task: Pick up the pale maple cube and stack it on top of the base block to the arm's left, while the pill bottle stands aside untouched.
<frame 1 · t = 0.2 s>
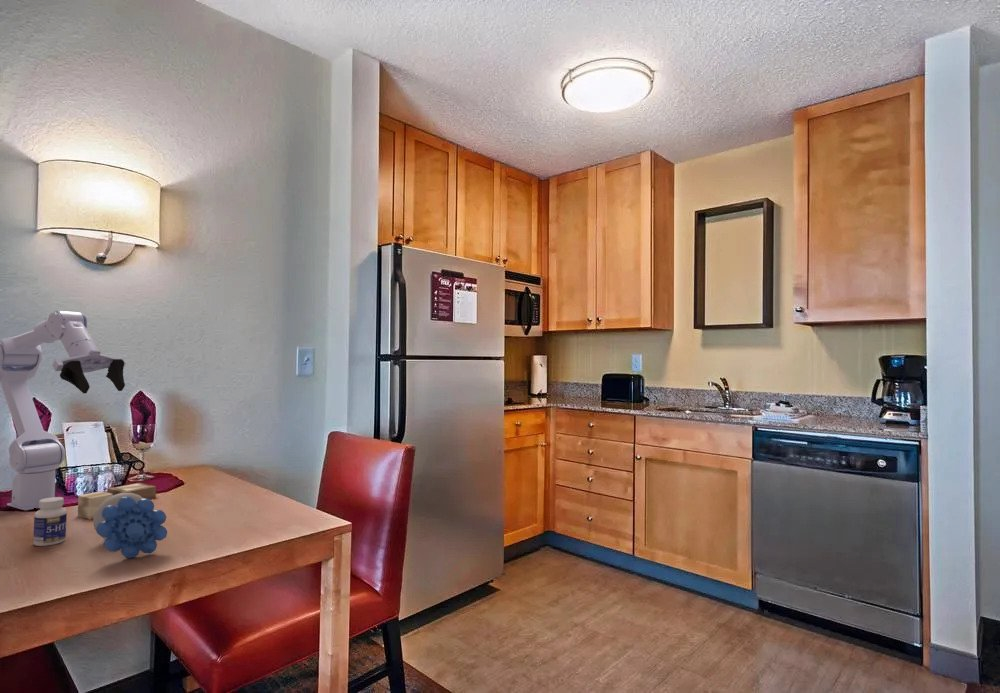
hand: (104, 389, 130), 31 cm above the table, tool tilted 45°, fingers open, 7 cm apart
donut: (121, 541, 117), on the table
cube: (94, 515, 135), on the table
pill bottle: (49, 543, 115), on the table
blue flower rosette: (132, 560, 107), on the table
base: (131, 498, 150), on the table
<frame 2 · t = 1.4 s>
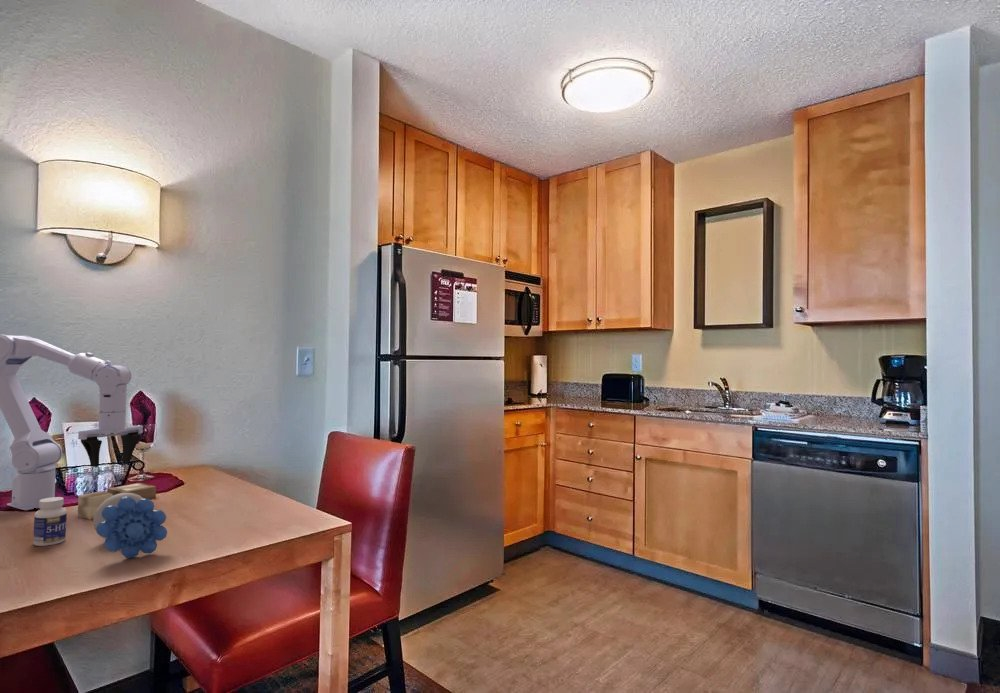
hand: (110, 464, 144), 10 cm above the table, tool pointing down, fingers open, 7 cm apart
nothing on the table moved.
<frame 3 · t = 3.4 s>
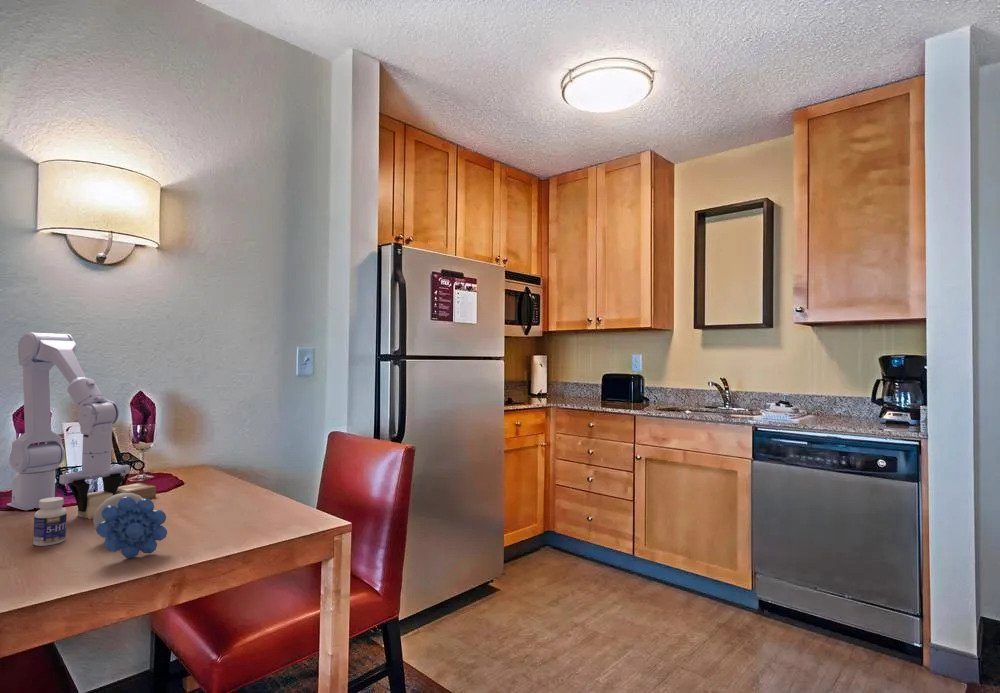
hand: (95, 508, 135), 2 cm above the table, tool pointing down, fingers closed on cube, 5 cm apart
cube: (95, 515, 135), on the table, touching gripper
everything else where it was.
when the fingers open (5 cm above the table, at t = 7.0 s): cube stays where it is, resting on base.
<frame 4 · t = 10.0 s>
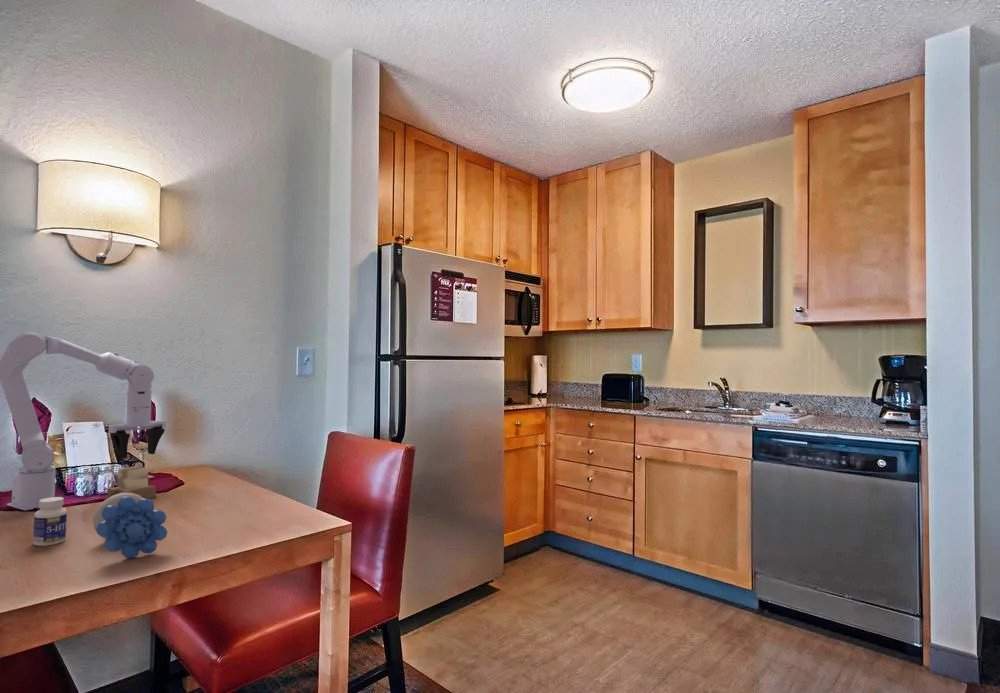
hand: (137, 455, 156), 10 cm above the table, tool pointing down, fingers open, 7 cm apart
cube: (132, 487, 150), point 3 cm above the table, touching base
everything else where it was.
at the end: cube 0.3 cm from the base (horizontally); cube point 3.1 cm above the table; cube tilted 0° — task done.
